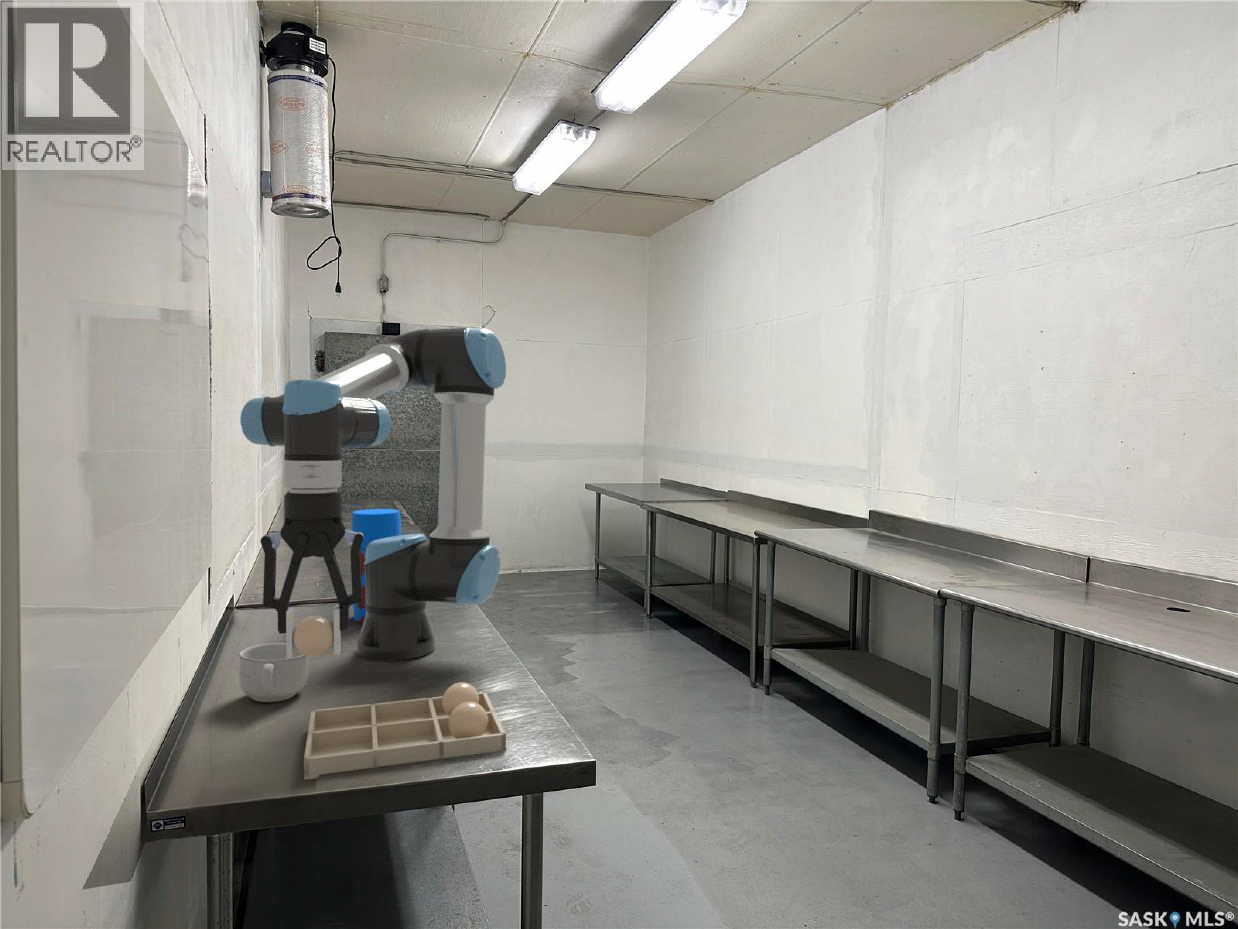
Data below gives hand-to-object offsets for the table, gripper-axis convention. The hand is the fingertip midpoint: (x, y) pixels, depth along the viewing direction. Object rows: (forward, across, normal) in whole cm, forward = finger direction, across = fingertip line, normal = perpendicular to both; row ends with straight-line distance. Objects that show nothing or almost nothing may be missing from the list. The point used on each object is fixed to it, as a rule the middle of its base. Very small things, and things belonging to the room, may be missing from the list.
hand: (314, 653), depth 110 cm
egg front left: (+13, +21, -4) cm, 25 cm away
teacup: (+14, -8, +22) cm, 27 cm away
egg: (0, 0, 0) cm, 0 cm away
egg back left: (+13, +21, +4) cm, 25 cm away
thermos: (+13, +8, +73) cm, 74 cm away
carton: (+14, +12, 0) cm, 18 cm away
